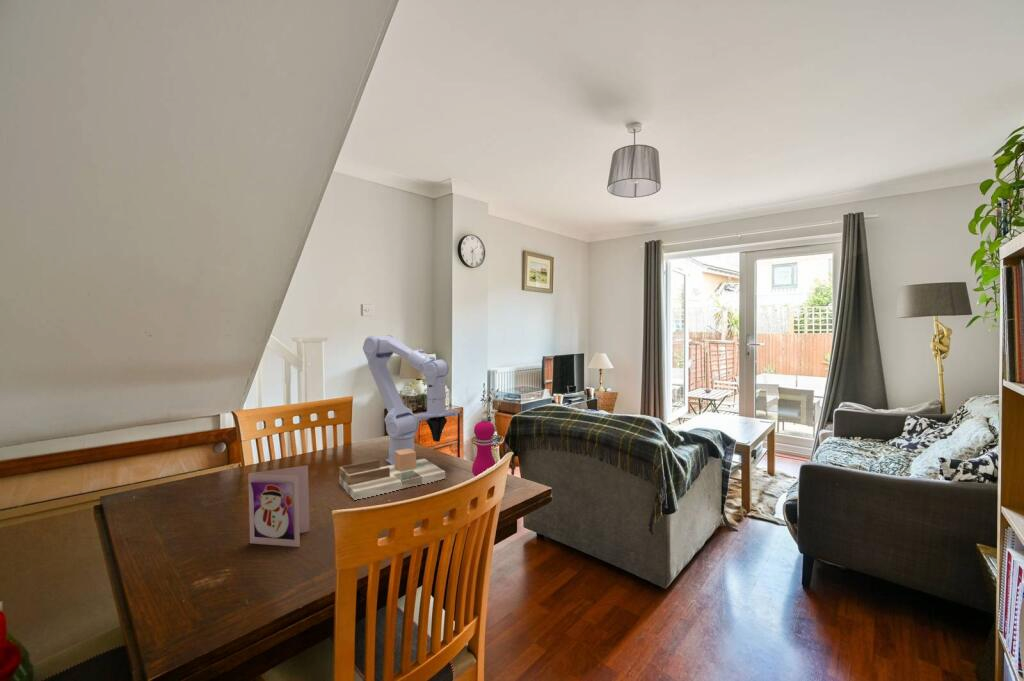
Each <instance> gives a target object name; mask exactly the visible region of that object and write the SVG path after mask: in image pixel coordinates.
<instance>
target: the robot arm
mask: <svg viewBox="0 0 1024 681" xmlns="http://www.w3.org/2000/svg"><path fill="white" fill-rule="evenodd" d="M362 350H363V353H364V356H365V358H366V361H367V363H368V367H369V370H370V373H371V375H372V378H373V380H374V381H375V384H376V387H377V388H378V393H379V394H380V396H381V398H382V401H383V403H384V407H385V408H386V410H387V414H386V415H385V416H384V417H385V418H384V423H385V426H386V427H385V429H386V432H387V433H386V434H387V435H388V436H389V441H388V458H386V460H385V461H386V462H387V463H388V464H390V465H394V451H397V450H402V449H408V448H410V449H412V450H414V451H415V436H416V432H417V431H418V430H419V426H420V421H425V422H426V424H427V425H428V428H429V430H430V432H431V436H432V441H433V442H435V443H436V442H437V443H438V442H440V441H441V438H442V433H443V431H444V428H445V425H446V424H447V422H448V420H447V418H448V417H458V416H459V409H456V408H453V409H452V408H451V409H446V377H447V376H448V375H449V370H450V367H449V364H448V362H447V361H446V360H444V359H443V358H442V359H441V358H439V359H436V357H435V356H433V355H430V354H428V353H425V350H424V349H414V350H413V349H412V348H411V347H409V346H407V345H405V344H404V343H403V342H401V341H399V340H398V338H397V337H394V336H393V335H390V334H388V335H375V336H373V335H369V336H366V338H365V340H364V342H363V346H362ZM394 354H396V355H398V356H400V357H401V358H404V359H405V360H407V362H408V365H409V366H410V367H413V368H414V369H416V370H418V371H419V372H421V373H422V375H423V377H424V380H425V384H426V411H424V412H419V413H415V414H414V413H413V411H412V409H411V408H409V407H407V406H405V405H404V403H403V400H402V398H401V396H400V394H399V391H398V388H397V387H396V385H395V383H394V380H393V378H392V375H391V373H390V370H389V368H388V366H387V364H388V362H390V360H391V358H392V357H393V355H394Z"/></svg>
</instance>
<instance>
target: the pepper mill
mask: <svg viewBox="0 0 1024 681" xmlns="http://www.w3.org/2000/svg"><path fill="white" fill-rule="evenodd" d="M480 419H481V421H478V422H477V423H475V425H474V428H473V433H474V435H475V436H476V437H475V444H476V445H477V453H476V456H475V459H474V460H473V463H472V466H471V473H472V474H473V476H474V477H475V476H477V475H478V474H480V473H482V472H483V471H485V470H486V469H487V468H489V467H491V466H493V465H494V464H495V463H496V462H497V461H496V460H495V458H494V456H493V453H492V444H493V443H494V438H493V436H494V435H495V432H496V431H495V430H496V429H495V426H494V424H493V423H492V422H491V421H488V416H486V415H483V416H481V417H480ZM496 464H497V463H496Z"/></svg>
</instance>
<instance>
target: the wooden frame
mask: <svg viewBox="0 0 1024 681" xmlns="http://www.w3.org/2000/svg"><path fill="white" fill-rule="evenodd" d="M380 467H381V466H380V459H374V460H369V461H364V462H359V463H354V464H353V463H352V464H347V465H342V466H339V467H338V468H339V471H338V472H339V474H338V475H340V476H341V478H342V479H343V480H344V481H345V482H346V483H347V484H348V485H353V484H358V483H362V482H367V481H372V480H376V479H381V478H386V477H390V468H389V467H388V468H383V469H379V468H380ZM374 469H378V470H374ZM368 470H373V471H368ZM363 471H368V472H363ZM358 472H363V473H358ZM353 473H358V474H353ZM349 474H353V475H349ZM340 476H339V477H340Z"/></svg>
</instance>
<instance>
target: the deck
mask: <svg viewBox="0 0 1024 681" xmlns="http://www.w3.org/2000/svg"><path fill="white" fill-rule="evenodd" d="M388 467H389V468H390V477H386V478H381V479H376V480H372V481H367V482H362V483H358V484H353V485H348V484H347V483H346V482H345V481H344V480H343V479H342V478H341V476H340V475H339V474H338V475H339V485H340V486H341V488H343V490H344V489H345V490H346V491H345V490H344V491H345V492H346V493H347V494H348V496H349V495H350V496H351V497H352V498H353V499H354V500H357V499H361V500H363V499H362V498H366V499H368V498H367V497H370V498H372V497H371V496H374V497H377V496H376V495H378V496H381V495H380V494H383V495H385V494H384V493H387V494H390V493H389V492H391V493H393V492H392V491H395V492H397V491H396V490H399V489H403V488H406V487H411V486H416V487H418V486H417V485H421V484H425V485H428V484H427V483H429V484H432V483H431V482H433V483H435V482H434V481H437V480H441V479H444V478H445V479H446V470H444V469H442V468H440V467H439V466H438V465H436V464H434V463H432V462H431V461H429V460H427V459H426V458H419V459H416V468H415V469H411V470H406V471H401V472H400V471H399V470H398V469H396V468H395V467H394V465H391V464H390V465H389V464H388V465H386V466H380V468H379V469H383V468H388ZM374 470H378V469H374ZM368 471H373V470H368ZM368 471H363V472H368ZM363 472H358V473H363ZM358 473H353V474H358ZM353 474H349V475H353ZM409 478H411V479H409ZM405 479H406V480H405ZM401 480H402V481H401ZM421 486H422V485H421ZM399 491H400V490H399ZM350 496H349V497H350ZM351 497H350V498H351ZM352 498H351V499H352ZM353 499H352V500H353ZM354 500H353V501H354ZM357 501H358V500H357Z"/></svg>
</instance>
